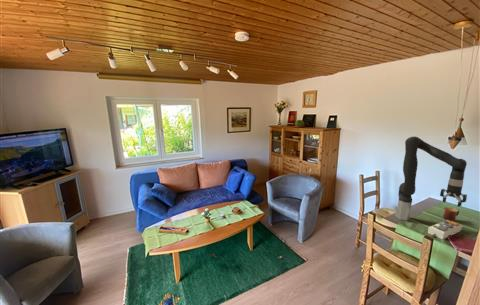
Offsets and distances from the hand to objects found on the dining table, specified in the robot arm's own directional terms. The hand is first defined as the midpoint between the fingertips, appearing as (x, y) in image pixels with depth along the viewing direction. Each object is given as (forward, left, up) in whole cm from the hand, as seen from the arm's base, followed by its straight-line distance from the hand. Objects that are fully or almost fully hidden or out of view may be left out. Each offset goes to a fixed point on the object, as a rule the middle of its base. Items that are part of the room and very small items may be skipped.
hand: (451, 204), depth 152 cm
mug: (+22, +19, -24) cm, 38 cm away
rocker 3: (+7, +2, -17) cm, 19 cm away
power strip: (-3, -1, -24) cm, 24 cm away
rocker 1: (-8, -5, -17) cm, 20 cm away
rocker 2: (0, -1, -17) cm, 17 cm away
